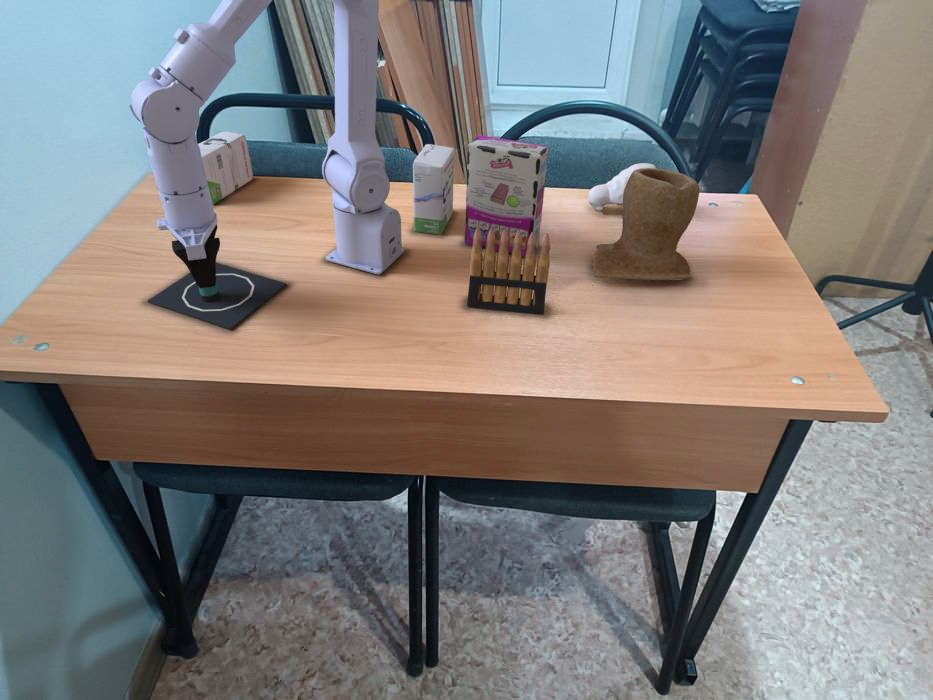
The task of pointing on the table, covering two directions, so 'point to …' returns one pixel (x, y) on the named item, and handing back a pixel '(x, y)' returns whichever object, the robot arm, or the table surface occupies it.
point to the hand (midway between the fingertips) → (206, 280)
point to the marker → (209, 293)
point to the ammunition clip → (508, 275)
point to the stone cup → (650, 228)
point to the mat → (234, 303)
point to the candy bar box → (505, 189)
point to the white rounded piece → (613, 188)
